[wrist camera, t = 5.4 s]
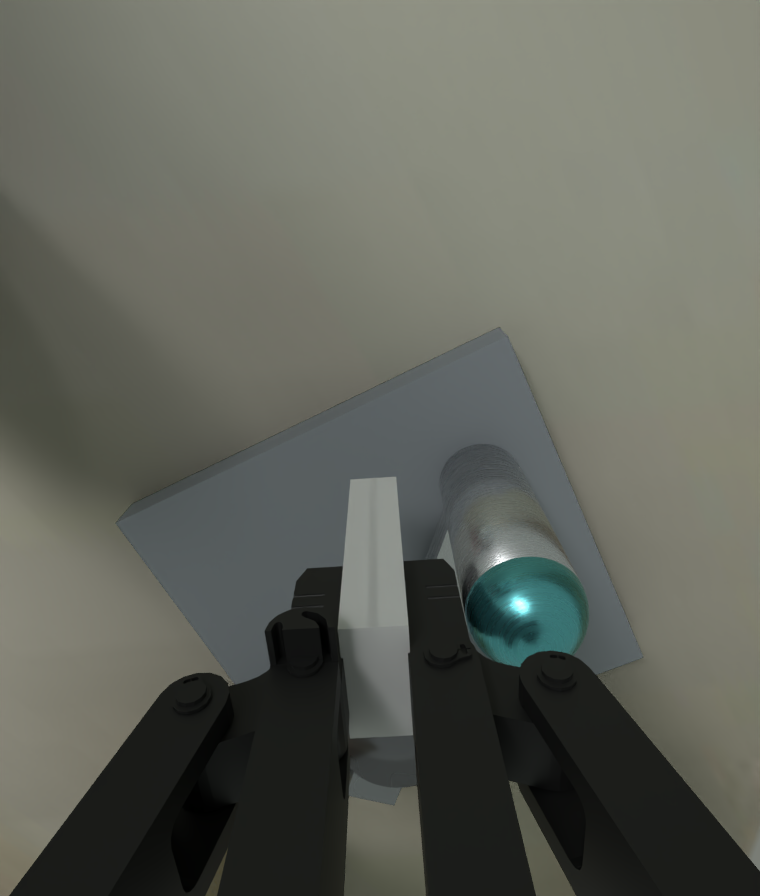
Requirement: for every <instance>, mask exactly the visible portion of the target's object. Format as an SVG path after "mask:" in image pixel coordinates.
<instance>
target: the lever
mask: <svg viewBox="0 0 760 896" xmlns="http://www.w3.org/2000/svg"><path fill="white" fill-rule="evenodd" d="M439 487H440V493H441V498H442V503H443V511H442V514H441V516H440V519H439V522H438V524H437V527H436V530H435V533H434V535H433V538H432V541H431V544H430V546H429V549H428V552H427V554H426V557H425V560H428V559H444V560H445V561H446V562H447V563H448V564H449V565H450V566H451V567H452V568H453V569H454V571H455V575H456V580H457V585H458V589H459V593H460V598H461V602H462V607H463V611H464V616H465V620H466V625H467V626H468V629H469V632H470V634H471V636H472V638H473V640H474V642H475V643H476V645H477V646H478V647H479V649H480V650H481V651H482V652H483V653H484V654H485V655H486V656H487V657H488V658H490V659H491V660H492V661H495V662H498V663H502V664H506V665H512V666H517V667H520V666H521V664H522V662H523V661H524V660H525V659H526V658H527V657H528V656H530V655H532V654H535V653H537V652H541V651H558V652H564V653H568V654H570V655H572V656H573V655H574V654H575V653H576V652H577V650H578V649H579V647H580V646H581V644H582V642H583V640H584V638H585V636H586V632H587V629H588V625H589V605H588V600H587V595H586V593H585V590H584V588H583V585H582V583H581V581H580V580H579V578H578V576H577V574H576V572H575V570H574V568H573V566H572V564H571V563H570V561H569V559H568V557H567V555H566V553H565V551H564V549H563V547H562V546H561V544H560V542H559V540H558V538H557V536H556V534H555V532H554V530H553V528H552V527H551V525H550V523H549V521H548V519H547V517H546V515H545V513H544V511H543V510H542V508H541V506H540V504H539V502H538V500H537V498H536V496H535V494H534V493H533V491H532V489H531V487H530V485H529V483H528V481H527V479H526V477H525V476H524V474H523V472H522V470H521V468H520V466H519V464H518V463H517V461H516V459H515V458H514V457H513V456H512V455H511V454H510V453H509V452H507V451H506V450H504V449H502V448H500V447H498V446H495V445H490V444H476V445H471V446H468V447H465V448H463V449H461V450H459V451H458V452H456V453H455V454H454V455H452V456H451V457H450V458H449V460H448V461H447V462H446V464H445V465H444V467H443V469H442V471H441V475H440V480H439ZM348 747H349V755H350V778H349V796H352V797H357V798H361V799H366V800H371V801H375V802H380V803H385V804H390V805H395V802H396V800H397V797H398V795H399V793H400V790H401V788H403V787H410V786H415V785H417V780H416V763H415V747H414V738H413V735H408V736H391V737H370V738H352V739H350V734H349V735H348Z"/></svg>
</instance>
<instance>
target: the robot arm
mask: <svg viewBox="0 0 760 896" xmlns="http://www.w3.org/2000/svg"><path fill="white" fill-rule="evenodd" d="M293 596H294V598H293V600H292V605H291V609H290V610H288V611H286V612H283V613H281V614H279V615H277V616H276V617H275V618H274V619H273V620H271V621H270V622H269V624H268V625H267V627H266V629H265V631H264V632H265V637H266V643H267V649H268V655H269V661H270V669H269V670H268V671H267V672H265V673H263V674H262V675H260V676H258V677H256V678H253V679H251V680H248V681H245V682H242V683H239V684H236V685H232V686H229V687H228V683H227V682H226V681H225V680H224V679H223V678H222V677H221V676H218V675H215V674H212V673H196V674H192V675H189V676H185V677H183V678H181V679H179V680H177V681H176V682H174V683H172V684H170V685H169V686H168V687H167V688H166V689H165V690H164V691H163V692H162V693H161V694H160V695H159V697H158V698H157V699H156V701H155V702H154V703H153V705H152V706H151V707H150V709H149V710H148V711H147V713H146V714H145V715H144V717H143V718H142V719H141V721H140V722H139V723H138V725H137V726H136V727H135V729H134V730H133V731H132V733H131V734H130V735H129V737H128V738H127V739H126V741H125V742H124V743H123V745H122V746H121V747H120V749H119V750H118V751H117V753H116V754H115V755H114V757H113V758H112V759H111V761H110V762H109V763H108V765H107V766H106V767H105V769H104V770H103V771H102V773H101V774H100V775H99V777H98V778H97V779H96V781H95V782H94V783H93V785H92V786H91V787H90V789H89V790H88V791H87V793H86V794H85V795H84V797H83V798H82V799H81V801H80V802H79V803H78V805H77V806H76V807H75V809H74V810H73V811H72V813H71V814H70V815H69V817H68V818H67V819H66V821H65V822H64V823H63V825H62V826H61V827H60V829H59V830H58V831H57V833H56V834H55V835H54V837H53V838H52V839H51V841H50V842H49V843H48V845H47V846H46V847H45V849H44V850H43V851H42V853H41V854H40V855H39V857H38V858H37V859H36V861H35V862H34V863H33V865H32V866H31V867H30V869H29V870H28V871H27V873H26V874H25V875H24V877H23V878H22V879H21V881H20V882H19V883H18V885H17V886H16V887H15V889H14V890H13V891H12V893H11V894H10V895H9V896H205V895H206V893H207V891H208V889H209V887H210V885H211V883H212V881H213V879H214V876H215V874H216V872H217V870H218V868H219V866H220V864H221V862H222V859H223V857H224V855H225V853H226V851H227V855H226V859H225V863H224V867H223V872H222V876H221V880H220V885H219V889H218V893H217V896H344V880H345V859H346V839H347V819H348V798H349V778H350V755H349V747H348V735H349V734H350V739H352V738H370V737H391V736H408V735H413V738H414V747H415V763H416V780H417V787H418V799H419V812H420V824H421V837H422V849H423V862H424V874H425V887H426V896H536V894H535V890H534V886H533V882H532V877H531V873H530V869H529V865H528V861H527V856H526V852H525V848H524V844H523V840H522V835H521V831H520V827H519V823H518V819H517V814H516V810H515V806H514V802H513V798H512V793H511V789H510V785H509V781H513V782H517V783H518V786H519V789H520V791H521V793H522V795H523V797H524V799H525V801H526V803H527V804H528V806H529V808H530V810H531V812H532V814H533V816H534V818H535V819H536V821H537V823H538V825H539V827H540V829H541V831H542V832H543V834H544V836H545V838H546V840H547V842H548V844H549V846H550V847H551V849H552V851H553V853H554V855H555V857H556V859H557V860H558V862H559V864H560V866H561V868H562V870H563V872H564V874H565V875H566V877H567V879H568V881H569V883H570V885H571V887H572V889H573V890H574V892H575V894H576V896H760V871H759V870H758V869H757V867H756V866H755V865H754V864H753V863H752V861H751V860H750V859H749V858H748V857H747V855H746V854H745V853H744V852H743V851H742V849H741V848H740V847H739V846H738V845H737V843H736V842H735V841H734V840H733V839H732V837H731V836H730V835H729V834H728V833H727V832H726V830H725V829H724V828H723V827H722V826H721V824H720V823H719V822H718V821H717V820H716V818H715V817H714V816H713V815H712V814H711V812H710V811H709V810H708V809H707V808H706V806H705V805H704V804H703V803H702V802H701V800H700V799H699V798H698V797H697V796H696V794H695V793H694V792H693V791H692V790H691V788H690V787H689V786H688V785H687V784H686V782H685V781H684V780H683V779H682V778H681V776H680V775H679V774H678V773H677V772H676V770H675V769H674V768H673V767H672V766H671V764H670V763H669V762H668V761H667V760H666V758H665V757H664V756H663V755H662V754H661V752H660V751H659V750H658V749H657V748H656V746H655V745H654V744H653V743H652V742H651V740H650V739H649V738H648V737H647V736H646V734H645V733H644V732H643V731H642V730H641V728H640V727H639V726H638V725H637V724H636V722H635V721H634V720H633V719H632V718H631V716H630V715H629V714H628V713H627V712H626V710H625V709H624V708H623V707H622V706H621V705H620V703H619V702H618V701H617V700H616V699H615V697H614V696H613V695H612V694H611V693H610V691H609V690H608V689H607V688H606V687H605V685H604V684H603V683H602V682H601V681H600V679H599V678H598V677H597V676H596V675H595V673H594V672H593V671H592V670H591V669H590V667H589V666H587V665H586V664H585V663H584V662H583V661H581V660H580V659H579V658H577V657H574V656H572V655H570V654H568V653H564V652H558V651H541V652H537V653H535V654H532V655H530V656H528V657H527V658H526V659H525V660H524V661H523V662H522V664H521V666H520V667H517V666H512V665H506V664H502V663H498V662H495V661H492V660H490V659H488V658H486V657H484V656H483V655H482V654H480V653H479V652H478V651H477V650H476V648H475V646H474V645H473V644H472V643H471V641H470V638H469V634H468V629H467V625H466V620H465V616H464V611H463V607H462V602H461V598H460V593H459V589H458V585H457V580H456V575H455V571H454V569H453V568H452V567H451V566H450V565H449V564H448V563H447V562H446V561H445V560H444V559H428V560H412V561H403V554H402V542H401V530H400V518H399V506H398V494H397V482H396V477H383V478H366V479H350V491H349V502H348V514H347V526H346V537H345V549H344V561H343V566H337V567H320V568H307V569H306V570H305V572H304V573H303V574H302V575H301V576H300V577H299V579H298V580H297V581H296V585H295V590H294V595H293ZM508 780H509V781H508ZM227 849H228V850H227Z"/></svg>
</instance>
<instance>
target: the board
mask: <svg viewBox="0 0 760 896" xmlns="http://www.w3.org/2000/svg"><path fill="white" fill-rule="evenodd" d="M476 444H490V445H495V446H498V447H500V448H502V449H504V450H506V451H507V452H509V453H510V454H511V455H512V456H513V457H514V458H515V459H516V461H517V463H518V464H519V466H520V468H521V470H522V472H523V474H524V476H525V477H526V479H527V481H528V483H529V485H530V487H531V489H532V491H533V493H534V494H535V496H536V498H537V500H538V502H539V504H540V506H541V508H542V510H543V511H544V513H545V515H546V517H547V519H548V521H549V523H550V525H551V527H552V528H553V530H554V532H555V534H556V536H557V538H558V540H559V542H560V544H561V546H562V547H563V549H564V551H565V553H566V555H567V557H568V559H569V561H570V563H571V564H572V566H573V568H574V570H575V572H576V574H577V576H578V578H579V580H580V581H581V583H582V585H583V588H584V590H585V593H586V595H587V600H588V605H589V625H588V629H587V632H586V636H585V638H584V640H583V642H582V644H581V646H580V647H579V649H578V650H577V652H576V653H575V654H574V655H573V656H574V657H577V658H579V659H580V660H581V661H583V662H584V663H585V664H586V665H587V666H589V667H590V669H591V670H592V671H593V672H594V673H595V675H597V674H600V673H603V672H605V671H608V670H611V669H614V668H616V667H619V666H622V665H624V664H627V663H630V662H633V661H635V660H638V659H641V658H644V657H643V655H642V653H641V650H640V648H639V645H638V643H637V641H636V638H635V636H634V634H633V631H632V629H631V627H630V624H629V622H628V619H627V617H626V615H625V612H624V610H623V608H622V605H621V603H620V601H619V598H618V596H617V593H616V591H615V589H614V586H613V584H612V582H611V579H610V577H609V574H608V572H607V570H606V567H605V565H604V563H603V560H602V558H601V556H600V553H599V551H598V548H597V546H596V544H595V541H594V539H593V537H592V534H591V532H590V530H589V527H588V525H587V522H586V520H585V518H584V515H583V513H582V511H581V508H580V506H579V503H578V501H577V499H576V496H575V494H574V492H573V489H572V487H571V485H570V482H569V480H568V477H567V475H566V473H565V470H564V468H563V466H562V463H561V461H560V458H559V456H558V454H557V451H556V449H555V447H554V444H553V442H552V440H551V437H550V435H549V432H548V430H547V428H546V425H545V423H544V421H543V418H542V416H541V414H540V411H539V409H538V406H537V404H536V402H535V399H534V397H533V395H532V392H531V390H530V387H529V385H528V383H527V380H526V378H525V376H524V373H523V371H522V369H521V366H520V364H519V361H518V359H517V357H516V354H515V352H514V350H513V347H512V345H511V343H510V340H509V338H508V336H507V335H506V334H505V333H504V332H503V331H502V330H501V328H500V327H499V328H496V329H494V330H492V331H490V332H488V333H486V334H484V335H482V336H480V337H478V338H476V339H474V340H472V341H469V342H467V343H465V344H463V345H461V346H459V347H457V348H455V349H453V350H451V351H449V352H447V353H445V354H442V355H440V356H438V357H436V358H434V359H432V360H430V361H428V362H426V363H424V364H422V365H420V366H418V367H415V368H413V369H411V370H409V371H407V372H405V373H403V374H401V375H399V376H397V377H395V378H393V379H391V380H388V381H386V382H384V383H382V384H380V385H378V386H376V387H374V388H372V389H370V390H368V391H366V392H364V393H361V394H359V395H357V396H355V397H353V398H351V399H349V400H347V401H345V402H343V403H341V404H339V405H337V406H334V407H332V408H330V409H328V410H326V411H324V412H322V413H320V414H318V415H316V416H314V417H312V418H310V419H307V420H305V421H303V422H301V423H299V424H297V425H295V426H293V427H291V428H289V429H287V430H285V431H283V432H280V433H278V434H276V435H274V436H272V437H270V438H268V439H266V440H264V441H262V442H260V443H258V444H256V445H253V446H251V447H249V448H247V449H245V450H243V451H241V452H239V453H237V454H235V455H233V456H231V457H229V458H226V459H224V460H222V461H220V462H218V463H216V464H214V465H212V466H210V467H208V468H206V469H204V470H202V471H199V472H197V473H195V474H193V475H191V476H189V477H187V478H185V479H183V480H181V481H179V482H177V483H175V484H172V485H170V486H168V487H166V488H164V489H162V490H160V491H158V492H156V493H154V494H152V495H150V496H148V497H145V498H143V499H141V500H139V501H137V502H135V503H133V504H132V505H131V506H130V507H129V508H128V509H127V510H126V511H125V513H124V514H123V515H122V516H121V517H120V518H119V520H118V521H117V522H116V524H117V526H118V527H119V528H120V530H121V531H122V533H123V534H124V535H125V537H126V538H127V539H128V541H129V542H130V543H131V545H132V546H133V547H134V549H135V550H136V551H137V553H138V554H139V555H140V557H141V558H142V560H143V561H144V562H145V564H146V565H147V566H148V568H149V569H150V570H151V572H152V573H153V574H154V576H155V577H156V578H157V580H158V581H159V582H160V584H161V585H162V587H163V588H164V589H165V591H166V592H167V593H168V595H169V596H170V597H171V599H172V600H173V601H174V603H175V604H176V605H177V607H178V608H179V609H180V611H181V612H182V613H183V615H184V616H185V618H186V619H187V620H188V622H189V623H190V624H191V626H192V627H193V628H194V630H195V631H196V632H197V634H198V635H199V636H200V638H201V639H202V640H203V642H204V643H205V645H206V646H207V647H208V649H209V650H210V651H211V653H212V654H213V655H214V657H215V658H216V659H217V661H218V662H219V663H220V665H221V666H222V667H223V669H224V670H225V672H226V673H227V674H228V676H229V677H230V678H231V680H232V681H233V682H234V684H235V685H236V684H239V683H242V682H245V681H248V680H251V679H253V678H256V677H258V676H260V675H262V674H263V673H265V672H267V671H268V670H269V669H270V661H269V655H268V649H267V643H266V637H265V632H264V631H265V629H266V627H267V625H268V624H269V622H270V621H271V620H273V619H274V618H275V617H276V616H277V615H279V614H281V613H283V612H286V611H288V610H290V609H291V605H292V600H293V598H294V596H293V595H294V590H295V585H296V581H297V580H298V579H299V577H300V576H301V575H302V574H303V573H304V572H305V570H306V569H307V568H320V567H337V566H343V561H344V549H345V537H346V526H347V514H348V502H349V491H350V479H366V478H383V477H396V482H397V494H398V506H399V518H400V530H401V542H402V554H403V561H412V560H425V557H426V554H427V552H428V549H429V546H430V544H431V541H432V538H433V535H434V533H435V530H436V527H437V524H438V522H439V519H440V516H441V514H442V511H443V503H442V498H441V493H440V487H439V480H440V475H441V471H442V469H443V467H444V465H445V464H446V462H447V461H448V460H449V458H450V457H451V456H452V455H454V454H455V453H456V452H458V451H459V450H461V449H463V448H465V447H468V446H471V445H476ZM467 629H468V626H467ZM468 634H469V638H470V641H471V643H472V644H473V645H474V646H475V648H476V650H477V651H478V652H479V653H480V654H482V655H483V656H484V657H486V658H488V657H487V656H486V655H485V654H484V653H483V652H482V651H481V650H480V649H479V647H478V646H477V645H476V643H475V642H474V640H473V638H472V636H471V634H470V632H469V629H468ZM488 659H490V658H488ZM490 660H491V659H490Z"/></svg>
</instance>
